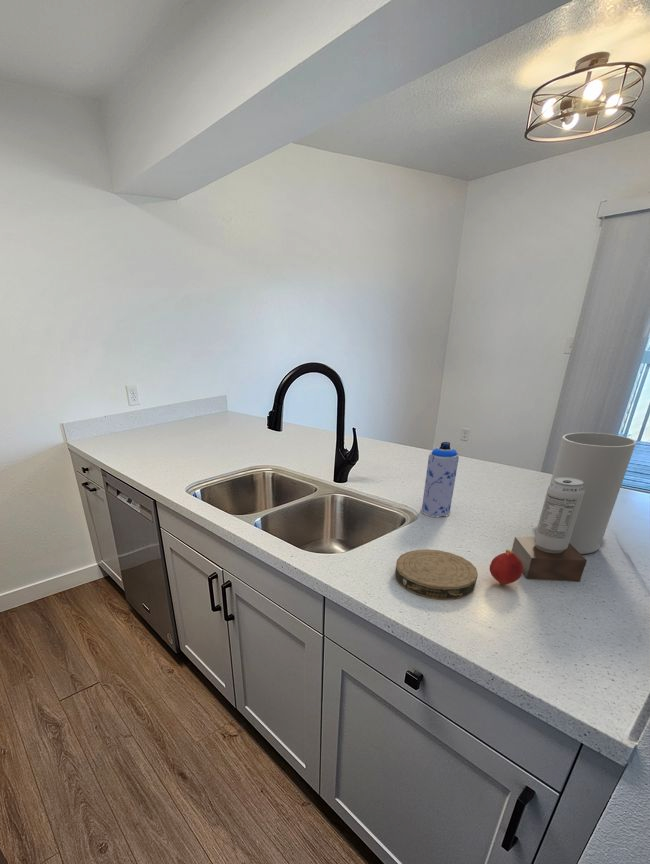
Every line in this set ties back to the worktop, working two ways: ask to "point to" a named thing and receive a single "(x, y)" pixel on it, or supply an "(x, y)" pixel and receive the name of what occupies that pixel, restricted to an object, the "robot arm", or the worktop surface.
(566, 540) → the energy drink can
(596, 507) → the cylinder vase
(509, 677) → the worktop surface
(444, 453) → the aerosol can
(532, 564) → the walnut block
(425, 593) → the wood slice
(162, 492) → the worktop surface
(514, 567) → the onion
